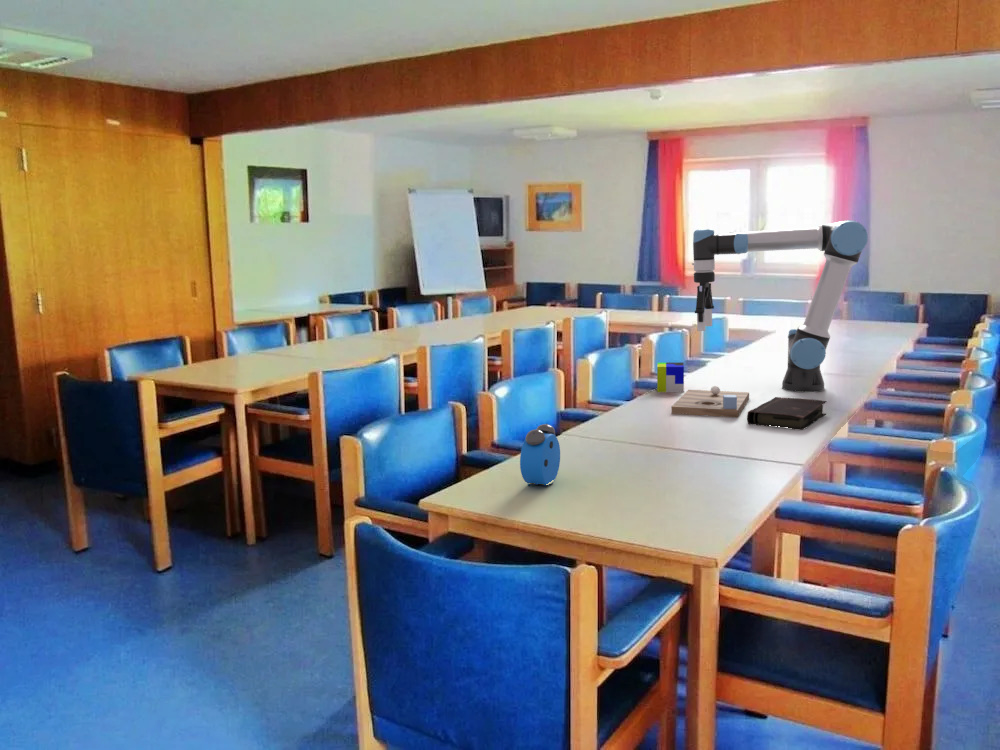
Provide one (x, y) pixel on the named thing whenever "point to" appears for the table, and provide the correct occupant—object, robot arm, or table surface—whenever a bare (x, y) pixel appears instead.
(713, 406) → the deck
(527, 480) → the alarm clock
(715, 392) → the ball
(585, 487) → the table surface
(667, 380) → the puzzle toy
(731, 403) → the blue block
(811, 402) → the diary
